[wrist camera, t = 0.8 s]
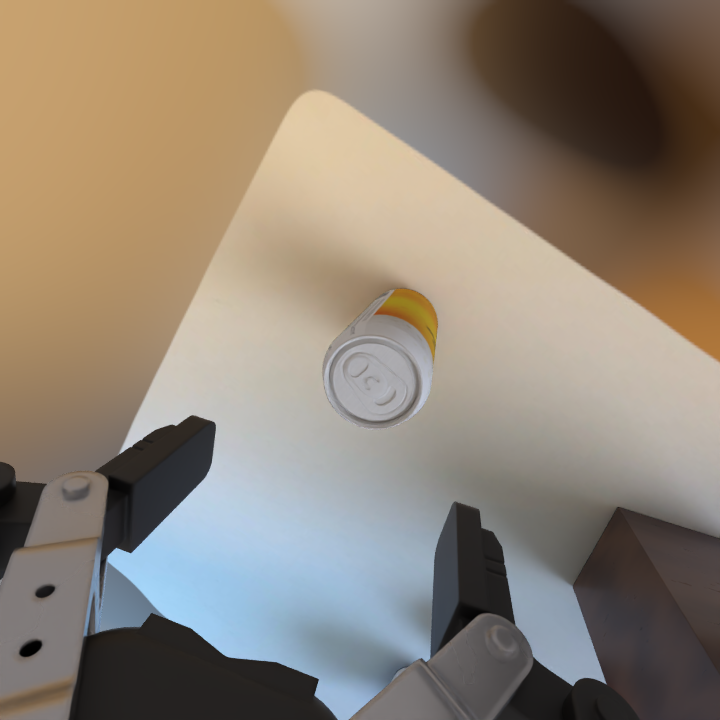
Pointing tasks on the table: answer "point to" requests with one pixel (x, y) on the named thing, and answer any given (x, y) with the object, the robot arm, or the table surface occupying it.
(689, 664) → the walnut stand
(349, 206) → the table surface
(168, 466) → the robot arm
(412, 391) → the beer can
